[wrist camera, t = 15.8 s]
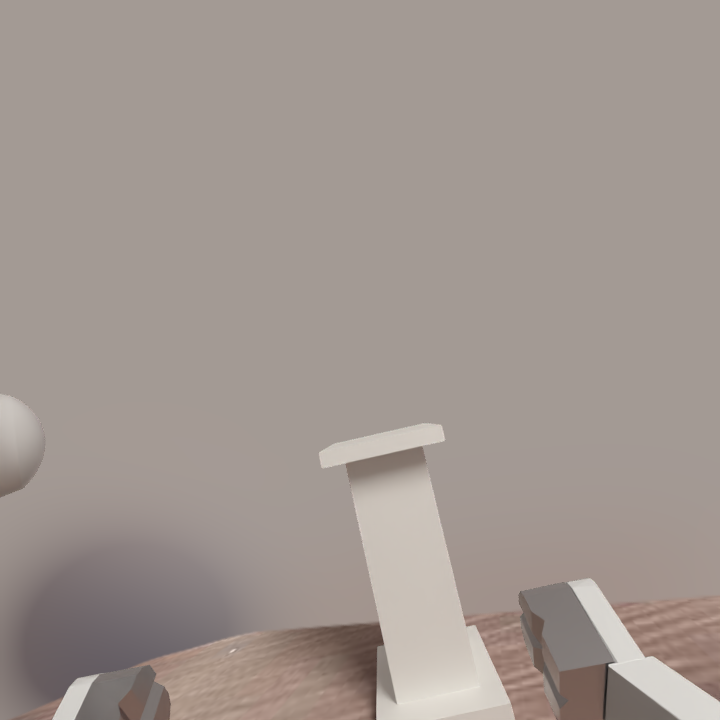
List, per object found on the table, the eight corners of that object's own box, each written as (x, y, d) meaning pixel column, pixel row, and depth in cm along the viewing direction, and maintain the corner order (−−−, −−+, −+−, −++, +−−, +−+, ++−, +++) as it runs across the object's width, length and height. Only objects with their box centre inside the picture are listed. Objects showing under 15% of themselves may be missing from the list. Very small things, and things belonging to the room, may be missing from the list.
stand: (380, 751, 37) (318, 452, 40) (379, 659, 51) (334, 443, 54) (515, 722, 37) (441, 424, 40) (478, 638, 50) (425, 422, 54)
